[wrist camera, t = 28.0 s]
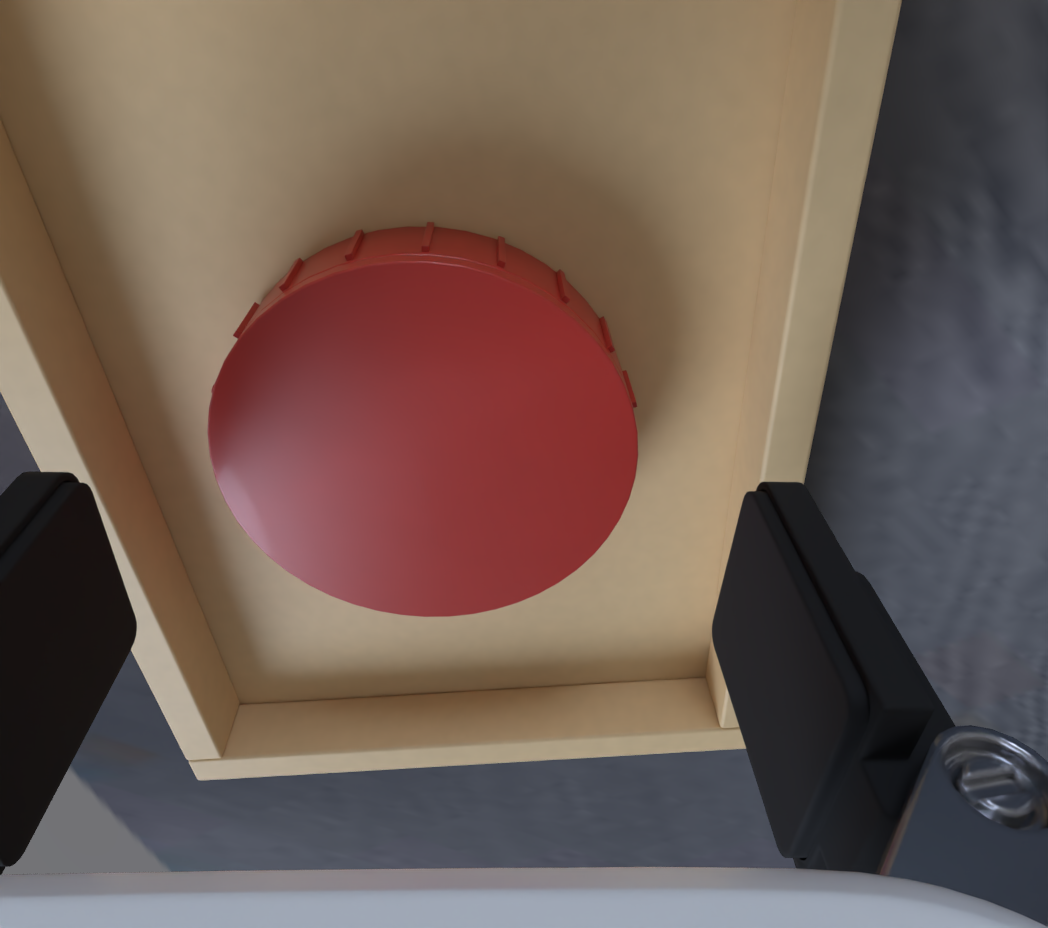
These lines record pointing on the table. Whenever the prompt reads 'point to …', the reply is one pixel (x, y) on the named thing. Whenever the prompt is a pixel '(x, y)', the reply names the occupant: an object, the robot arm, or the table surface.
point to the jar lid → (424, 423)
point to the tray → (450, 202)
